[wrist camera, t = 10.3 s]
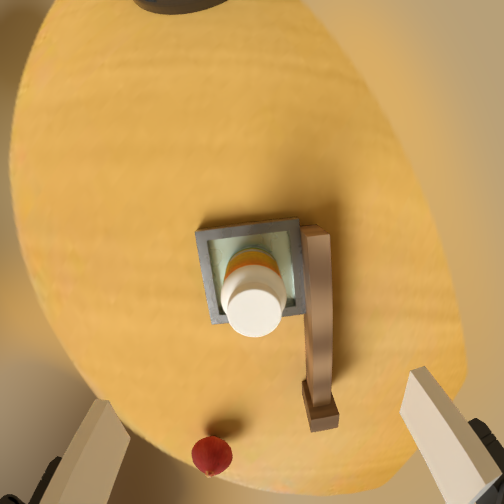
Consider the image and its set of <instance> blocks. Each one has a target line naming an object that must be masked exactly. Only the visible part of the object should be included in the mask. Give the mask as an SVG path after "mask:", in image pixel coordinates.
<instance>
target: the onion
mask: <svg viewBox="0 0 504 504" xmlns="http://www.w3.org/2000/svg"><path fill="white" fill-rule="evenodd" d="M192 459H193V462H194V464H195V465H196V467H197V468H198V469H199V470H200V471H202V472H203V473H205V474H206V477H209V478H210V477H212V476H214V475H217V474H220V473H221V472H223V471H224V470H225V469H226V468H228V467H229V465H230V463H231V461H232V451H231V448H230V446H229V445H228V444H227V443H226V442H225V441H224V440H222V439H220V438H218V437H217V436H210V437H206V438H203V439H201V440H199V441H198V442H197V443H196V444H195V445H194V447H193V449H192Z"/></svg>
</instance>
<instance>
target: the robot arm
mask: <svg viewBox="0 0 504 504" xmlns="http://www.w3.org/2000/svg"><path fill="white" fill-rule="evenodd" d="M133 1H134V2H135V3H136V4H137V5H138V6H139V7H141V8H143V9H144V10H147V11H150V12H153V13H158V14H168V15H174V14H186V13H192V12H197V11H201V10H204V9H208V8H210V7H213V6H216V5H218V4H220V3H223V2H225V1H226V0H133ZM399 413H400V415H401V417H402V418H403V420H404V422H405V424H406V426H407V428H408V429H409V431H410V433H411V435H412V437H413V439H414V441H415V442H416V444H417V446H418V448H419V450H420V452H421V454H422V456H423V458H424V459H425V461H426V463H427V465H428V467H429V469H430V471H431V473H432V475H433V477H434V479H435V481H436V483H437V485H438V487H439V489H440V491H441V494H442V496H443V498H444V500H445V502H446V504H474V503H475V502H476V504H504V448H503V447H502V445H501V444H500V443H499V441H498V440H496V437H495V436H494V434H491V431H490V429H489V428H488V426H487V425H486V424H485V423H484V422H482V421H480V420H479V419H477V418H474V419H472V420H471V421H469V422H467V421H466V420H465V418H464V417H463V415H462V414H461V413H460V411H459V410H458V409H457V407H456V406H455V405H454V403H453V402H452V401H451V399H450V398H449V397H448V395H447V394H446V393H445V391H444V390H443V389H442V388H441V386H440V385H439V384H438V382H437V381H436V380H435V379H434V377H433V376H432V375H431V373H430V372H429V371H428V370H427V368H426V367H425V366H423V367H420V368H417V369H414V370H411V371H410V374H409V378H408V382H407V386H406V390H405V394H404V398H403V402H402V405H401V409H400V412H399ZM129 441H130V437H129V435H128V433H127V432H126V430H125V428H124V427H123V425H122V423H121V422H120V420H119V418H118V416H117V415H116V413H115V411H114V409H113V407H112V405H111V404H110V402H109V401H108V400H99V399H95V401H94V403H93V404H92V406H91V408H90V409H89V411H88V413H87V415H86V416H85V418H84V420H83V422H82V423H81V425H80V427H79V429H78V430H77V432H76V434H75V436H74V437H73V439H72V441H71V443H70V445H69V447H68V449H67V450H66V452H65V454H64V456H63V458H61V457H58V456H57V457H56V458H55V459H54V460H52V461H51V462H50V463H49V465H48V467H47V469H46V471H45V473H44V474H43V476H42V480H40V482H39V484H38V486H37V488H36V490H35V492H34V494H33V496H32V498H31V500H30V502H29V503H28V504H107V501H108V499H109V496H110V492H111V490H112V487H113V484H114V482H115V479H116V476H117V473H118V470H119V468H120V465H121V462H122V460H123V457H124V454H125V452H126V449H127V446H128V444H129ZM0 504H25V503H24V502H22V501H21V500H20V499H19V498H18V497H17V496H15V495H12V494H7V495H5V496H3V497H2V498H1V499H0Z"/></svg>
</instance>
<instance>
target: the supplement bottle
mask: <svg viewBox="0 0 504 504" xmlns="http://www.w3.org/2000/svg"><path fill="white" fill-rule="evenodd" d="M286 300H287V294H286V288H285V285H284V282H283V279H282V275H281V272H280V269H279V266H278V263H277V261H276V259H275V258H274V257H273V255H272V254H271V253H269V252H268V251H267V250H265V249H262V248H259V247H246V248H243V249H240V250H239V251H237V252H236V253H235V254H234V255H233V256H232V257H231V258H230V260H229V261H228V264H227V267H226V272H225V276H224V281H223V285H222V290H221V304H222V307H223V310H224V312H225V313H226V315H227V317H228V321H229V323H230V325H231V326H232V327H233V329H234V330H236V331H237V332H238V333H240V334H242V335H245V336H249V337H260V336H264V335H266V334H269V333H270V332H272V331H273V330H274V329H275V328H276V327H277V326H278V324H279V322H280V320H281V317H282V312H283V310H284V308H285V305H286Z"/></svg>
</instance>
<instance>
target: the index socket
mask: <svg viewBox="0 0 504 504" xmlns="http://www.w3.org/2000/svg"><path fill="white" fill-rule="evenodd" d="M195 236H196V242H197V248H198V254H199V260H200V266H201V271H202V277H203V282H204V288H205V293H206V298H207V303H208V308H209V313H210V318H211V323H212V324H222V323H229V321H228V317H227V315H226V313H225V312H224V310H223V307H222V304H221V290H222V285H223V281H224V276H225V272H226V267H227V264H228V261H229V260H230V258H231V257H232V256H233V255H234V254H235V253H236V252H237V251H239V250H240V249H243V248H246V247H259V248H262V249H265V250H267V251H268V252H269V253H271V254H272V255H273V257H274V258H275V259H276V261H277V263H278V266H279V269H280V272H281V275H282V279H283V282H284V285H285V288H286V294H287V300H286V305H285V308H284V310H283V312H282V317H285V316H292V315H299V314H306V306H305V289H304V274H303V260H302V247H301V235H300V224H299V219H298V218H297V217H291V218H282V219H273V220H265V221H256V222H248V223H240V224H232V225H224V226H217V227H209V228H202V229H197V230H196V231H195Z"/></svg>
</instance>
